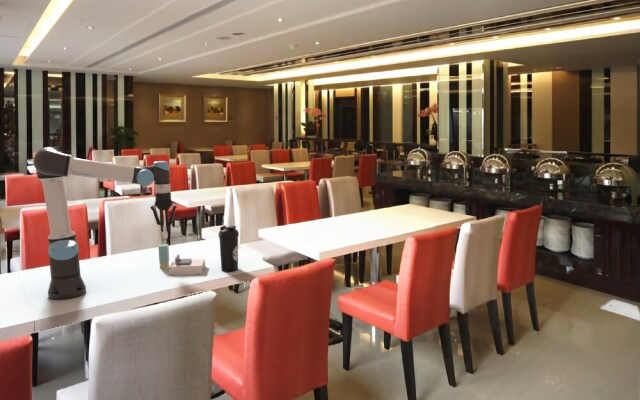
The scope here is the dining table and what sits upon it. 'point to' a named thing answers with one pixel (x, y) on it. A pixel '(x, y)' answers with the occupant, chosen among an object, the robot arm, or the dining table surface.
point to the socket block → (188, 267)
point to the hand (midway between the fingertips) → (165, 237)
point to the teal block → (164, 255)
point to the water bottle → (229, 248)
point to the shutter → (181, 260)
